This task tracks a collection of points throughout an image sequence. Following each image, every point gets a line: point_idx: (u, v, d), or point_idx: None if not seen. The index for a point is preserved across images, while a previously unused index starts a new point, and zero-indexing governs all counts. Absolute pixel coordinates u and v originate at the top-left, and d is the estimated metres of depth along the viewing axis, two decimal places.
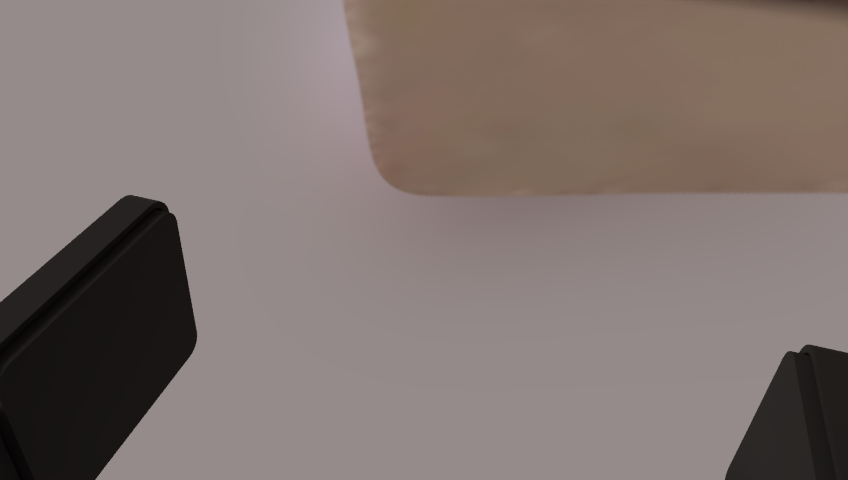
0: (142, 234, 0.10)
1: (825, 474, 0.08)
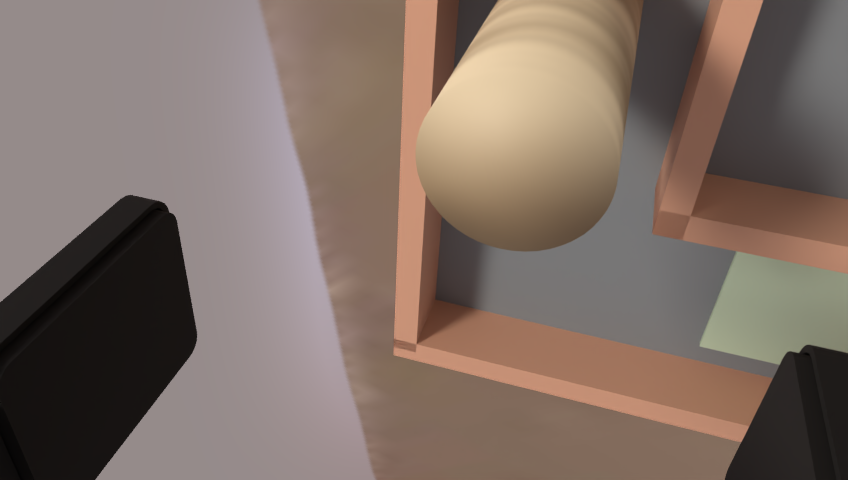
0: (142, 234, 0.10)
1: (825, 474, 0.08)
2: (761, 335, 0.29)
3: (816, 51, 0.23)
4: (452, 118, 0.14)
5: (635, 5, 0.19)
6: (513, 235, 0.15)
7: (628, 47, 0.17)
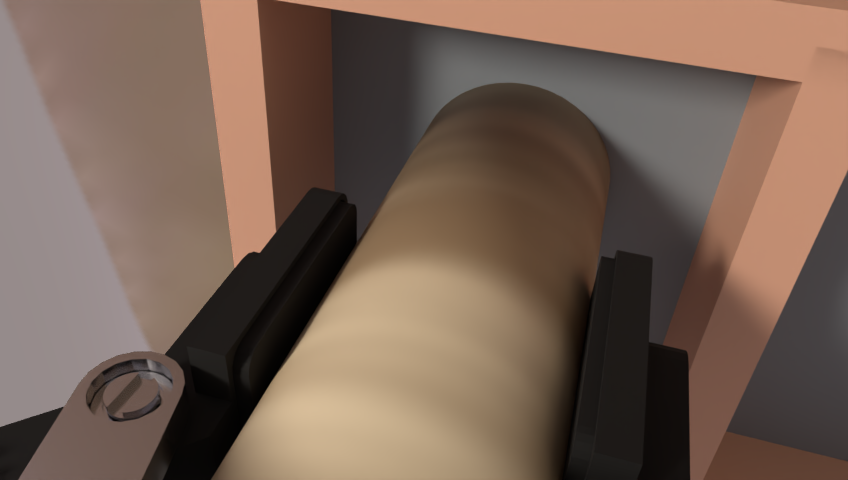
0: (337, 224, 0.11)
1: (597, 343, 0.09)
2: None
3: None
4: None
5: (580, 282, 0.11)
6: None
7: (553, 437, 0.09)
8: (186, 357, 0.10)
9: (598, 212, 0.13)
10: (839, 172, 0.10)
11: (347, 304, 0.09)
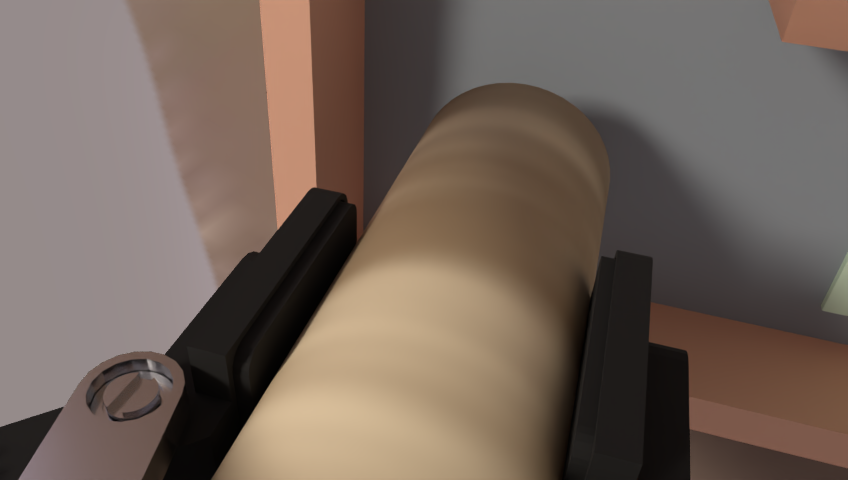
0: (337, 224, 0.11)
1: (597, 343, 0.09)
2: None
3: None
4: None
5: (580, 283, 0.11)
6: None
7: (553, 438, 0.08)
8: (186, 357, 0.10)
9: (598, 212, 0.13)
10: None
11: (347, 305, 0.09)
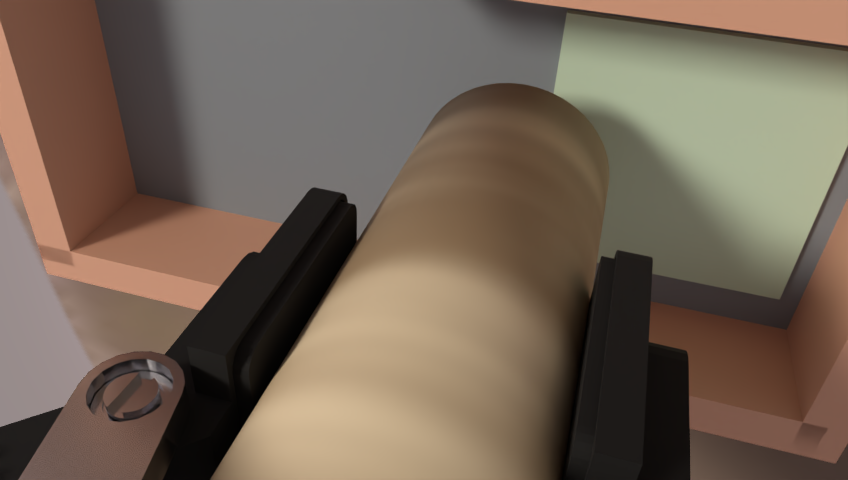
0: (337, 224, 0.11)
1: (597, 343, 0.09)
2: (621, 221, 0.17)
3: None
4: None
5: (579, 283, 0.11)
6: None
7: (552, 438, 0.09)
8: (186, 357, 0.10)
9: (597, 212, 0.13)
10: None
11: (345, 305, 0.09)
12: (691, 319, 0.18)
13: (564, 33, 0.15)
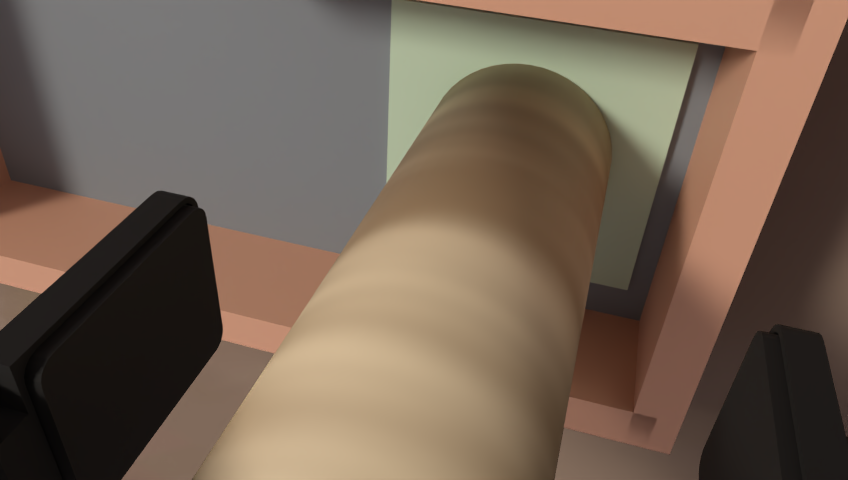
0: (174, 228, 0.11)
1: (787, 445, 0.08)
2: None
3: None
4: None
5: (581, 248, 0.11)
6: None
7: (553, 384, 0.09)
8: None
9: (599, 186, 0.13)
10: None
11: (359, 261, 0.10)
12: None
13: (392, 19, 0.15)
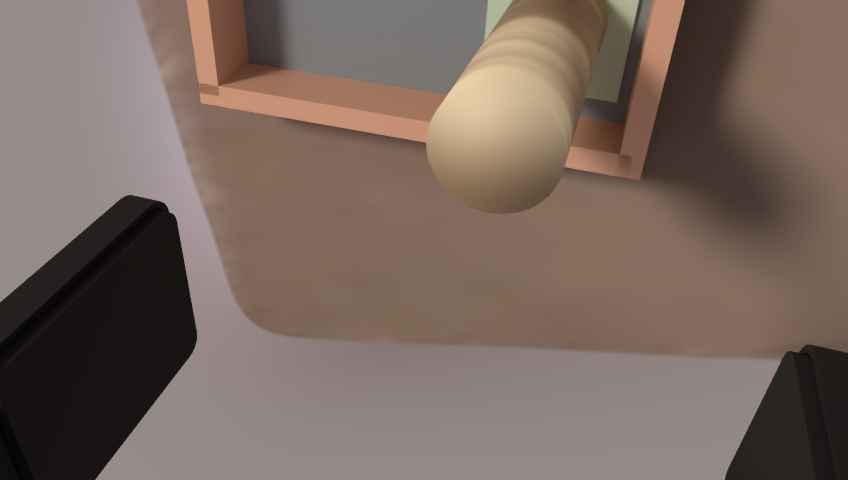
0: (142, 234, 0.10)
1: (825, 474, 0.08)
2: None
3: None
4: (451, 117, 0.20)
5: (591, 39, 0.25)
6: (495, 201, 0.21)
7: (581, 70, 0.23)
8: None
9: (600, 25, 0.27)
10: None
11: (501, 30, 0.24)
12: None
13: None
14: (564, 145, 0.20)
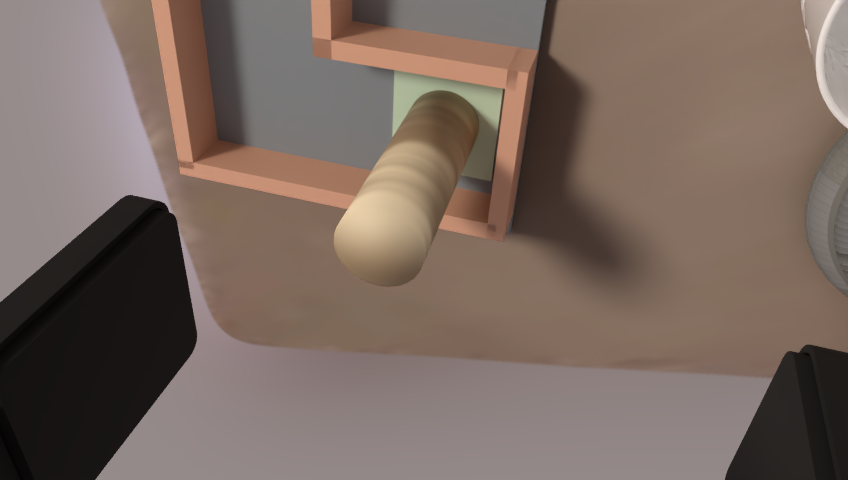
0: (142, 234, 0.10)
1: (825, 474, 0.08)
2: None
3: None
4: (349, 227, 0.31)
5: (458, 152, 0.36)
6: (381, 279, 0.32)
7: (444, 183, 0.34)
8: None
9: (469, 134, 0.38)
10: None
11: (390, 152, 0.34)
12: (459, 191, 0.42)
13: (394, 72, 0.39)
14: (422, 247, 0.30)
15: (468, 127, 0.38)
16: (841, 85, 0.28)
